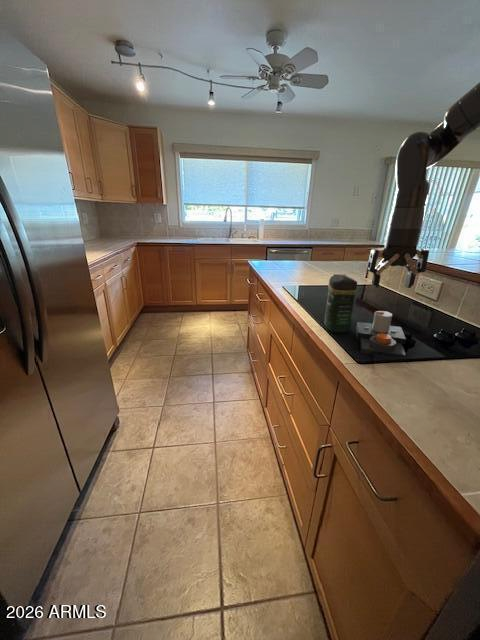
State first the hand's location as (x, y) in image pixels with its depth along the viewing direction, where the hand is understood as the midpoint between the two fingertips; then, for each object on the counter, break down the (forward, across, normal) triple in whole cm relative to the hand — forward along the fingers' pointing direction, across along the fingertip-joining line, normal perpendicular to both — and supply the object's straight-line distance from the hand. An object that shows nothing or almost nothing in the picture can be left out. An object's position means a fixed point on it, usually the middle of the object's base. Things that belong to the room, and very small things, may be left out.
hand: (391, 287), depth 74 cm
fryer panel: (+18, +1, +3) cm, 18 cm away
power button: (+15, -1, -5) cm, 16 cm away
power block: (+18, -1, -5) cm, 19 cm away
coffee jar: (+18, -11, +10) cm, 23 cm away
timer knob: (+15, +1, +3) cm, 15 cm away
